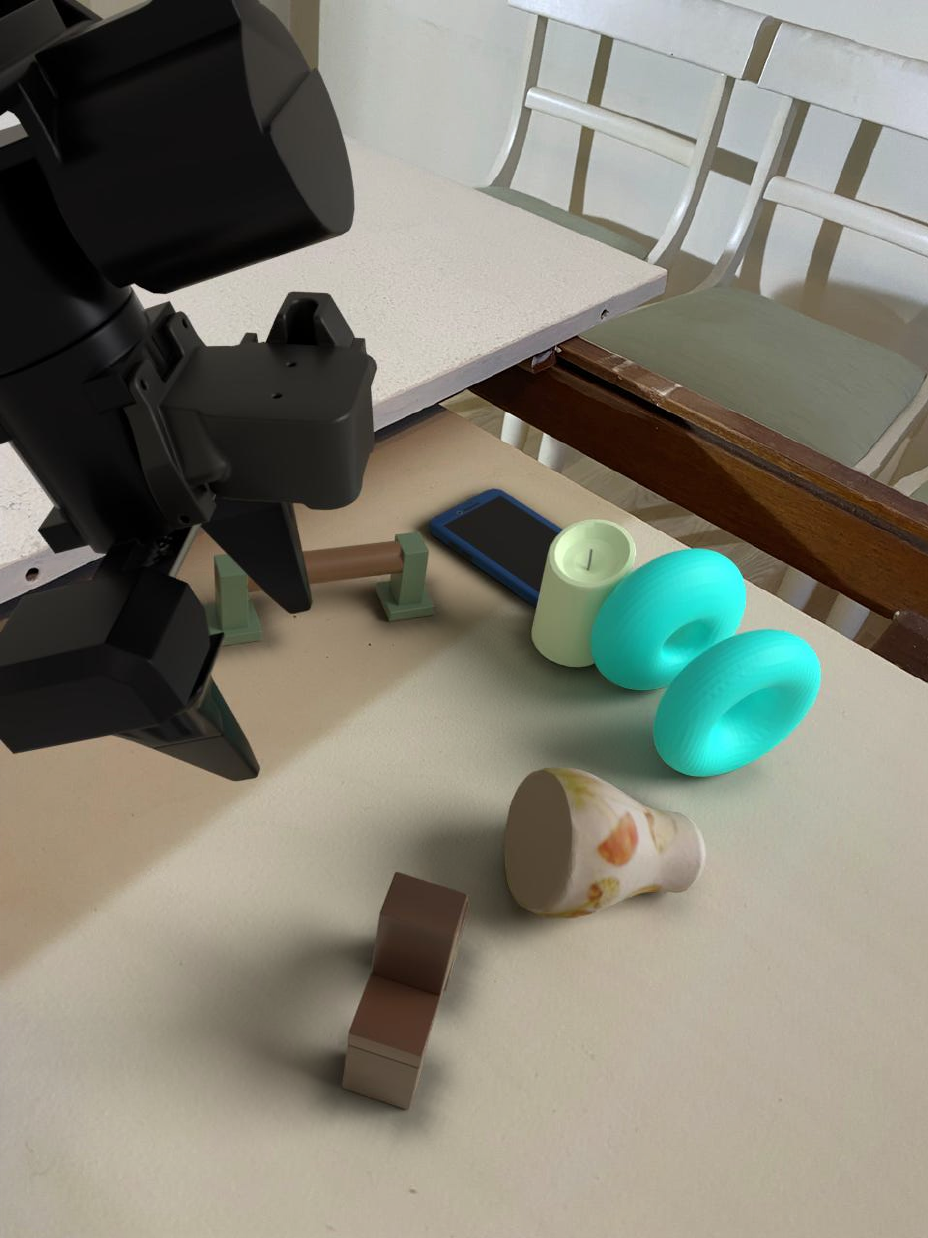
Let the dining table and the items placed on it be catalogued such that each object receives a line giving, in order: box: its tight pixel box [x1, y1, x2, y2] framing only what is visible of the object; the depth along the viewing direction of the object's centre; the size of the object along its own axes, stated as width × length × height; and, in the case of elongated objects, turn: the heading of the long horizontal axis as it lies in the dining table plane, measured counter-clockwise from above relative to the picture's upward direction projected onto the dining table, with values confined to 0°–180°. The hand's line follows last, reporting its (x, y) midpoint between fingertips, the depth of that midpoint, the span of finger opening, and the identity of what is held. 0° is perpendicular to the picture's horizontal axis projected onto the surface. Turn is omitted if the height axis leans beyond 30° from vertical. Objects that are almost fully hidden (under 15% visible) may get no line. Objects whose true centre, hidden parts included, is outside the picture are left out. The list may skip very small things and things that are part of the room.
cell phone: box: [428, 487, 564, 609], centre depth 71 cm, size 7×14×1 cm, turn 47°
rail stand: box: [202, 531, 436, 647], centre depth 63 cm, size 14×3×5 cm, turn 110°
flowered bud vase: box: [503, 766, 707, 919], centre depth 51 cm, size 8×10×10 cm
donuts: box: [591, 548, 822, 778], centre depth 58 cm, size 10×10×10 cm
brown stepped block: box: [341, 871, 470, 1111], centre depth 42 cm, size 7×3×10 cm, turn 165°
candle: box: [531, 518, 637, 668], centre depth 63 cm, size 5×5×8 cm
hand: (277, 686), depth 41 cm, fingers open, 9 cm apart
